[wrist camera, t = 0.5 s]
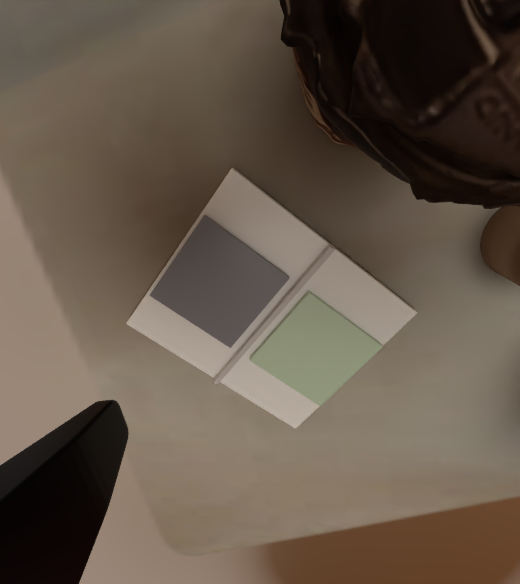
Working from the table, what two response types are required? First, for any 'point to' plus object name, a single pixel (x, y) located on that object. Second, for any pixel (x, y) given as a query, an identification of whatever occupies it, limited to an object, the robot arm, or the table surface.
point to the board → (267, 304)
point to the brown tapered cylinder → (503, 243)
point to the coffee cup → (417, 89)
